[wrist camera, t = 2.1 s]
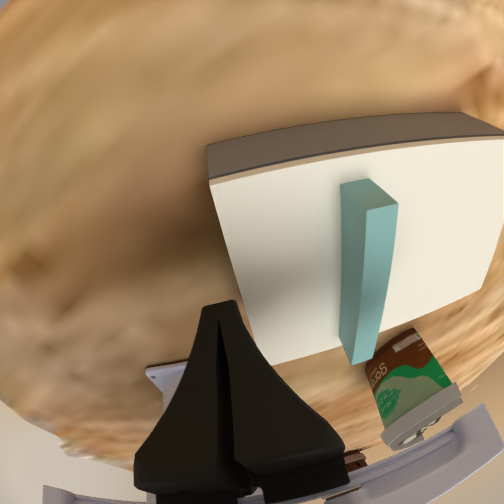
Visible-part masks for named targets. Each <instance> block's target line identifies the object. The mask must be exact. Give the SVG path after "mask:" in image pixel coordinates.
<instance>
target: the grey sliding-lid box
mask: <svg viewBox="0 0 504 504" xmlns="http://www.w3.org/2000/svg"><path fill="white" fill-rule="evenodd" d="M483 136H504V131H503V130H501V129H499V128H497V127H495V126H493V125H491V124H488V123H486V122H484V121H481V120H479V119H477V118H474V117H472V116H469V115H467V114H464V113H413V114H395V115H382V116H371V117H361V118H351V119H343V120H335V121H328V122H321V123H314V124H308V125H301V126H295V127H290V128H284V129H279V130H273V131H268V132H263V133H258V134H254V135H249V136H244V137H240V138H236V139H231V140H227V141H223V142H219V143H215V144H211V145H207V146H206V152H207V164H208V175H209V180H212V179H216V178H219V177H223V176H227V175H232V174H236V173H240V172H244V171H248V170H253V169H257V168H261V167H266V166H271V165H275V164H280V163H285V162H290V161H295V160H300V159H305V158H310V157H315V156H321V155H327V154H332V153H338V152H344V151H350V150H357V149H363V148H370V147H377V146H385V145H392V144H400V143H409V142H418V141H428V140H439V139H451V138H465V137H483Z"/></svg>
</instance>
